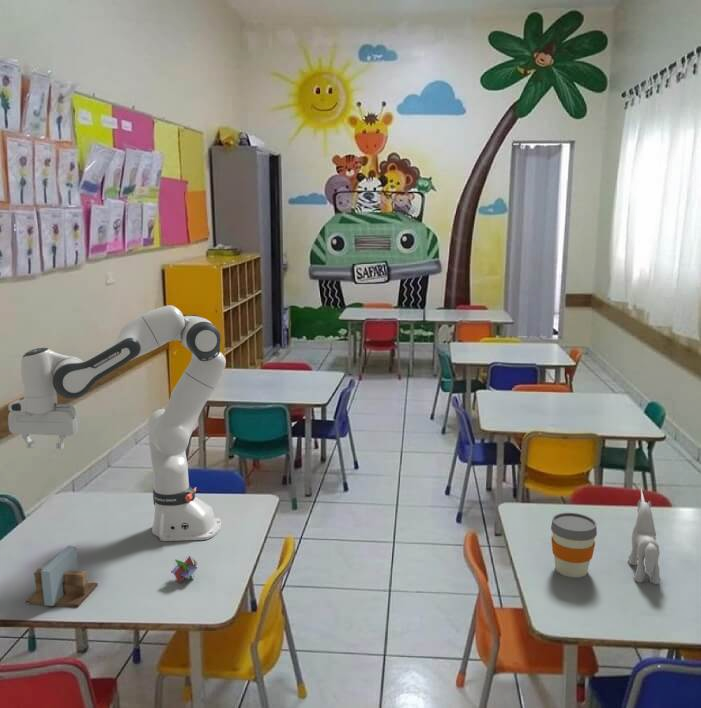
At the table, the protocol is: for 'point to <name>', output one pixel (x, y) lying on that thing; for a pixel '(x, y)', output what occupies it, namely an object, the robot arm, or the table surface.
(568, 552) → the reusable coffee cup
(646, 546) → the unicorn
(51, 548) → the table surface
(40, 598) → the jig
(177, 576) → the geometric puzzle
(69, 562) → the slotted plate
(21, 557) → the table surface
